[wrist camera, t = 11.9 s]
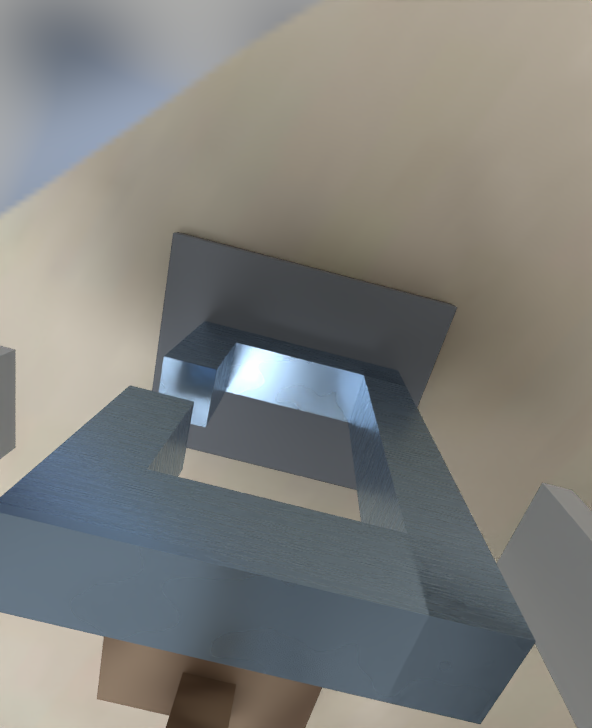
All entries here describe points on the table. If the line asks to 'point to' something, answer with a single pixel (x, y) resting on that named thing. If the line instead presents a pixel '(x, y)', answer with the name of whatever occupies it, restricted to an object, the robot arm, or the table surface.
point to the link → (268, 539)
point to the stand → (200, 690)
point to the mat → (298, 326)
